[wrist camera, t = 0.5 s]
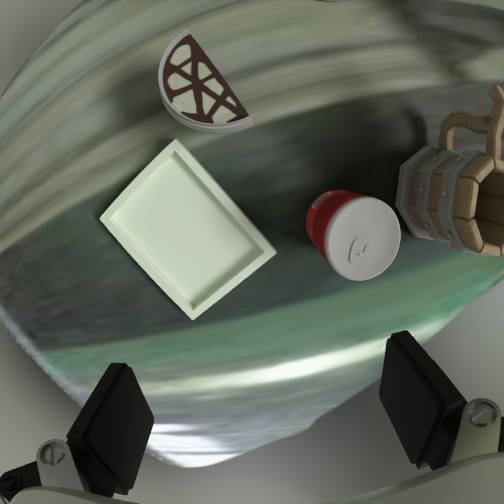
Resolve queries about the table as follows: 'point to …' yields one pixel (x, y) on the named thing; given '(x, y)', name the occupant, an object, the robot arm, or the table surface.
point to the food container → (198, 90)
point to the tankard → (458, 186)
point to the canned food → (353, 233)
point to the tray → (186, 231)
